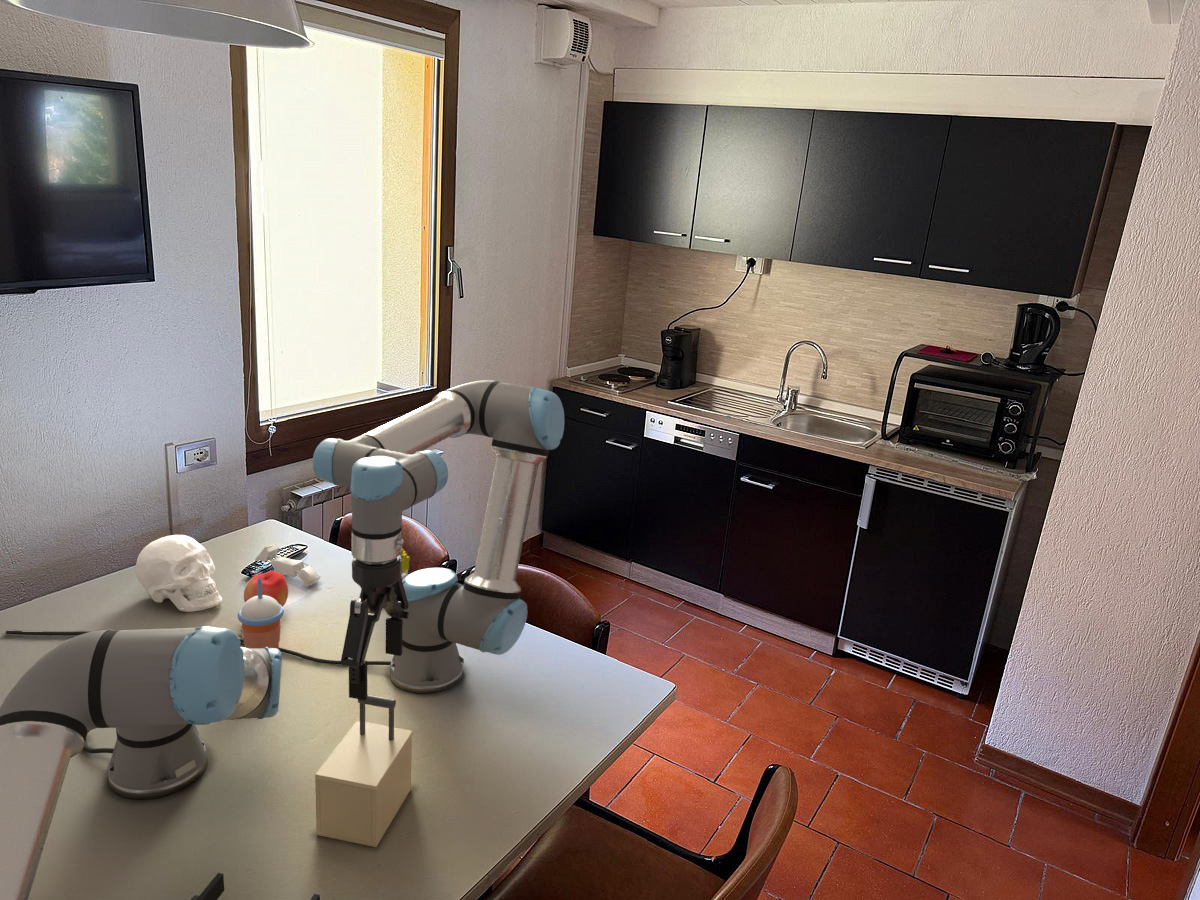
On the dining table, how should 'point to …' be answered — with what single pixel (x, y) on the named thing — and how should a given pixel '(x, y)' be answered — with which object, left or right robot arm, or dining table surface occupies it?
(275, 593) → the apple
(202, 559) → the skull
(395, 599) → the right robot arm
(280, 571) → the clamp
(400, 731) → the lid
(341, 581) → the dining table surface
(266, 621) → the cup with straw
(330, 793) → the chest
